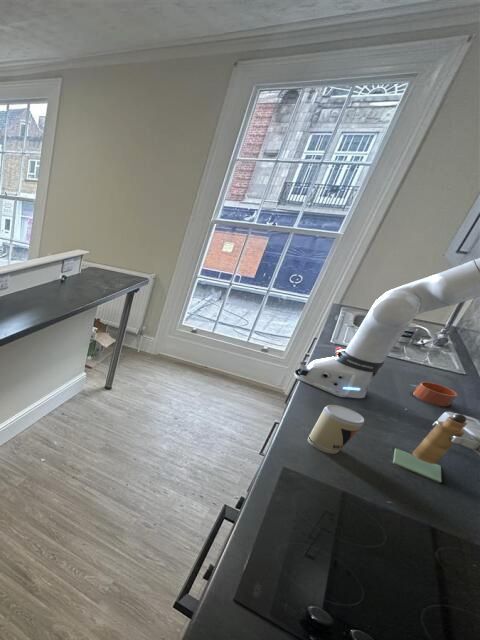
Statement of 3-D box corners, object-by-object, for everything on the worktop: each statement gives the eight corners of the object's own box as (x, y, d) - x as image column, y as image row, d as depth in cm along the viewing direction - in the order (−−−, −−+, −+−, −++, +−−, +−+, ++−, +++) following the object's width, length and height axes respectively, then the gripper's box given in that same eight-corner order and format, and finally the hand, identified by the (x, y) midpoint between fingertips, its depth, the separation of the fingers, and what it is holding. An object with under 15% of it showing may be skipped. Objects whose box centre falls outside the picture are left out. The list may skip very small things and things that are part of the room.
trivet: (392, 463, 116) (394, 462, 116) (394, 449, 122) (395, 448, 122) (440, 483, 110) (441, 481, 110) (439, 466, 117) (440, 465, 116)
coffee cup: (332, 459, 116) (356, 426, 110) (298, 439, 123) (319, 407, 116) (347, 450, 120) (372, 418, 113) (313, 432, 127) (334, 401, 120)
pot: (411, 398, 152) (420, 387, 149) (412, 389, 158) (420, 379, 155) (448, 410, 146) (458, 399, 143) (447, 401, 152) (457, 390, 150)
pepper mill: (414, 449, 118) (450, 407, 110) (438, 459, 114) (477, 417, 106) (410, 455, 115) (446, 412, 107) (434, 466, 112) (474, 423, 104)
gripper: (484, 412, 114) (426, 402, 117) (549, 458, 97) (480, 444, 100) (467, 430, 117) (412, 419, 120) (528, 477, 100) (462, 463, 103)
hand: (443, 431), depth 110 cm, fingers closed on pepper mill, 5 cm apart
